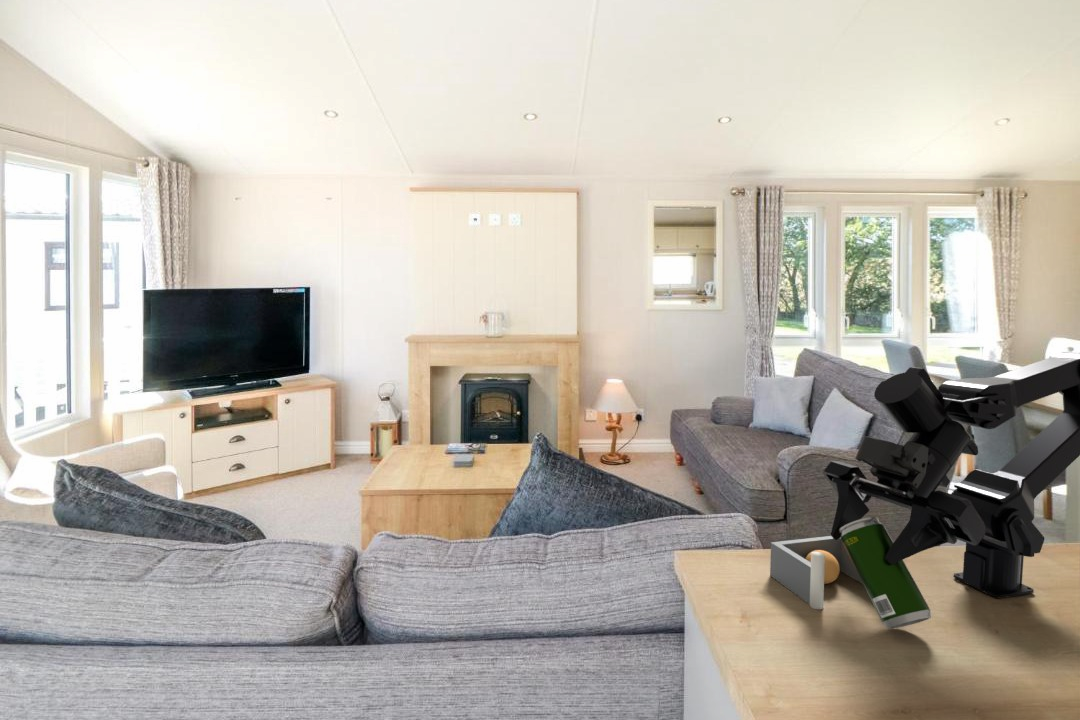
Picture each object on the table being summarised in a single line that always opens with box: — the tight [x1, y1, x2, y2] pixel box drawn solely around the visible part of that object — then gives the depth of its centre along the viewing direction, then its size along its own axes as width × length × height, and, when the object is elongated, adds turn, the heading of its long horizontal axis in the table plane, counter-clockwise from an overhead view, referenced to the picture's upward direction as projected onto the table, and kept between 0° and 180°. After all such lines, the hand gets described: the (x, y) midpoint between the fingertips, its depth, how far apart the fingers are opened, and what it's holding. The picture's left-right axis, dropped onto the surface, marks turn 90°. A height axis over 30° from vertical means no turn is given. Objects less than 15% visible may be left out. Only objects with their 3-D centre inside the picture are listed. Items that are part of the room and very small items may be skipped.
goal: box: [769, 535, 863, 610], centre depth 79 cm, size 13×10×7 cm
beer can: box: [839, 516, 932, 630], centre depth 70 cm, size 5×5×12 cm
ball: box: [805, 550, 840, 585], centre depth 80 cm, size 4×4×4 cm
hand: (859, 549), depth 71 cm, fingers closed on beer can, 7 cm apart
